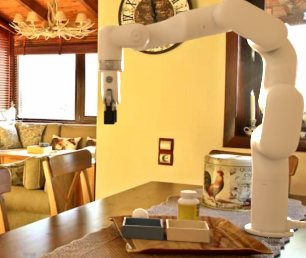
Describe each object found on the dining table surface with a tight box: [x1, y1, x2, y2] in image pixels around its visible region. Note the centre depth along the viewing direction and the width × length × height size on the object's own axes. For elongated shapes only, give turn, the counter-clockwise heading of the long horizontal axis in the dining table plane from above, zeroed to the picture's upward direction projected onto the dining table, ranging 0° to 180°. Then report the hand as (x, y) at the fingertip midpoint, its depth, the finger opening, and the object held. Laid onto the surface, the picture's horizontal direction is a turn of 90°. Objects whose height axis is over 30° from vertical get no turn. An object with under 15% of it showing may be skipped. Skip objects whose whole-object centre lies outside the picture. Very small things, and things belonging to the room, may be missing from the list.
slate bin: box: [122, 216, 164, 241], centre depth 147 cm, size 11×10×4 cm
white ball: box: [131, 208, 150, 218], centre depth 158 cm, size 5×5×5 cm
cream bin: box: [165, 218, 211, 244], centre depth 144 cm, size 11×10×4 cm
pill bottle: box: [177, 189, 200, 221], centre depth 153 cm, size 6×6×11 cm
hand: (110, 123), depth 157 cm, fingers open, 9 cm apart
